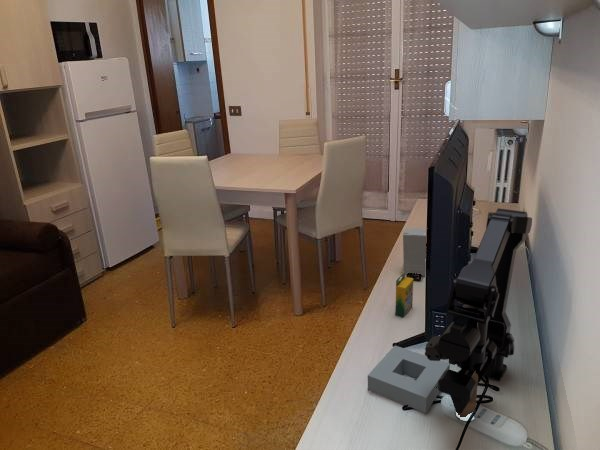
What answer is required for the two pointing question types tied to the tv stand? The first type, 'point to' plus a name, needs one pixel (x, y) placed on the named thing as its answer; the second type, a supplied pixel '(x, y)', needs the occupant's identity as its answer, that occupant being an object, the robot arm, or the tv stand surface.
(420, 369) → the socket block
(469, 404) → the walnut peg
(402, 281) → the crayon box
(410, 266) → the skincare box
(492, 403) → the tv stand surface
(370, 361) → the tv stand surface
